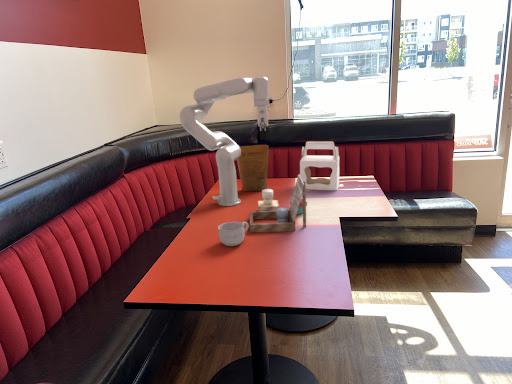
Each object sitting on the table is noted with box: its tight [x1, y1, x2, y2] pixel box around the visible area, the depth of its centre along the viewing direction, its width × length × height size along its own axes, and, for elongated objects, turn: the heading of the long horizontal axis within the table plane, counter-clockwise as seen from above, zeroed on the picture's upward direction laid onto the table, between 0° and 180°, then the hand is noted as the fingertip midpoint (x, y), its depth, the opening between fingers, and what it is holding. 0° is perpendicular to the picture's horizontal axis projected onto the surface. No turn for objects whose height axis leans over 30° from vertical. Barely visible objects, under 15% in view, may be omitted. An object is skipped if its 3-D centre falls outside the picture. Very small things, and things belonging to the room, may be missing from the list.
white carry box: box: [299, 140, 340, 191], centre depth 232 cm, size 22×13×28 cm, turn 72°
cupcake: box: [289, 197, 308, 215], centre depth 191 cm, size 9×8×12 cm
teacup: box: [217, 221, 250, 247], centre depth 159 cm, size 14×11×8 cm
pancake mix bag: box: [236, 144, 269, 192], centre depth 232 cm, size 7×19×28 cm, turn 82°
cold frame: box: [249, 173, 307, 234], centre depth 176 cm, size 25×18×21 cm
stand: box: [257, 199, 280, 211], centre depth 193 cm, size 10×10×5 cm
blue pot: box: [276, 207, 289, 223], centre depth 179 cm, size 6×6×7 cm
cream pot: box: [261, 188, 274, 205], centre depth 192 cm, size 6×6×7 cm
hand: (263, 137), depth 195 cm, fingers open, 9 cm apart
